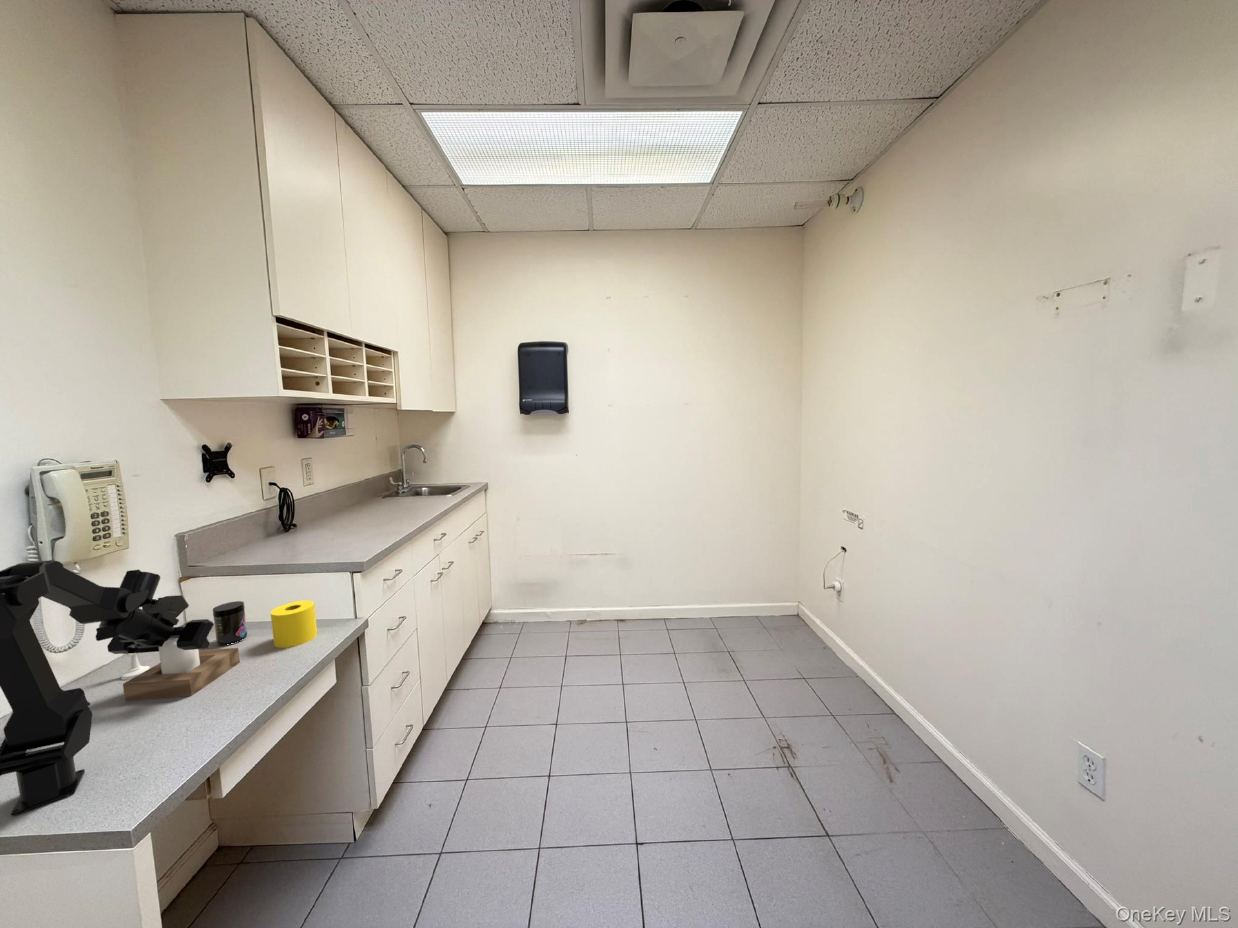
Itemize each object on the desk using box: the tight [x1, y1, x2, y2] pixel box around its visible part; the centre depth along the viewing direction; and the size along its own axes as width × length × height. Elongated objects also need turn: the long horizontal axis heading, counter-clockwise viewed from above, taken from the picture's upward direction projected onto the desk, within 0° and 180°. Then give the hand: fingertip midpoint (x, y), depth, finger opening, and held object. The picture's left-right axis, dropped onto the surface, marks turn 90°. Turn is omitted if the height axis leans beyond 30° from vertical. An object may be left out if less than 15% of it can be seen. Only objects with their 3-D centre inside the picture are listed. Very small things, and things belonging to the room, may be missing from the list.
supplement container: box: [212, 600, 248, 646], centre depth 124 cm, size 7×7×10 cm
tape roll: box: [270, 600, 318, 649], centre depth 124 cm, size 10×10×9 cm
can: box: [158, 638, 200, 674], centre depth 104 cm, size 6×6×12 cm
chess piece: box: [121, 653, 151, 681], centre depth 108 cm, size 5×5×10 cm
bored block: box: [122, 647, 241, 702], centre depth 105 cm, size 14×14×4 cm
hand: (188, 647), depth 106 cm, fingers open, 9 cm apart
